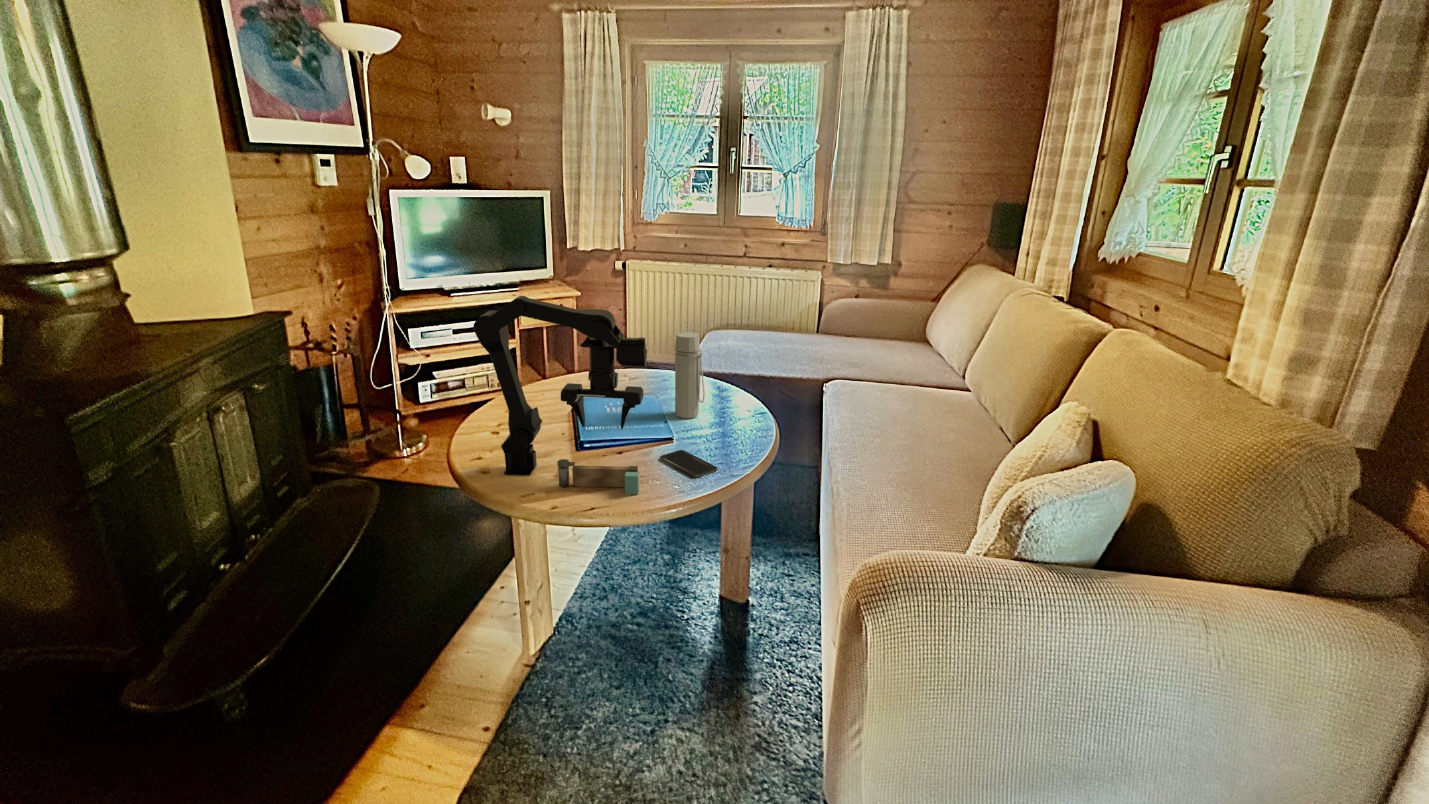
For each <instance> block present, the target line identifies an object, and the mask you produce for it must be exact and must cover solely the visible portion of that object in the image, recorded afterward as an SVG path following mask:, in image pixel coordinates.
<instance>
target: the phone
mask: <svg viewBox="0 0 1429 804" xmlns="http://www.w3.org/2000/svg"><path fill="white" fill-rule="evenodd" d="M659 461H660V462H662V463H664V464H666V465H668V466H669V467H671V468H673V469H675V470H677V471H679V472H680V473H683V475H686V476H687V475H688V478H689V477H690V478H691V479H693V478H695V479H694V480H697V479H696V478H698V479H701V478H703V477H702V476H704V475H706V476H709V475H711V474H710V473H712V474H715V473H717V472H718V467H717V466H715V465H714V464H712V463H710V462H708V461H706V460H703V459H702V458H700V457H699V456H696V455H694V454H692V453H690V452H688V451H686V450H684V449H679V450H675V451H672V452H669V453H666V454H663V455H660V456H659ZM716 471H717V472H716ZM714 472H715V473H714ZM708 474H709V475H708ZM704 477H705V476H704Z"/></svg>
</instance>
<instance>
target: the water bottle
mask: <svg viewBox="0 0 1429 804" xmlns="http://www.w3.org/2000/svg"><path fill="white" fill-rule="evenodd" d="M699 336H700V335H699V333H696V332H692V331H689V332H688V331H684V332H678V333H676V334H675V338H676V339H675V346H674V351H675V354H674V355H675V356H674V357H675V359H674V362H675V363H674V375H675V376H674V381H675V383H674V384H675V386H674V390H675V391H674V394H675V395H674V403H675V404H674V406H675V408H674V414H675V415H676V416H677V417H679V418H681V419H688V420H689V419H693V418H695V417H697V416H698V415H699V413H700V408H699V407H700V404H699V403H702V404H703V403H704V401H705V397H706V396H705V394H706V393H705V381H704V371H703V362H702V357H703V353H704V352H703V350H701V347H700V337H699ZM701 383H702V391H703V392H702V393H703V395H702V400H701V396H700V394H701Z"/></svg>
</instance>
